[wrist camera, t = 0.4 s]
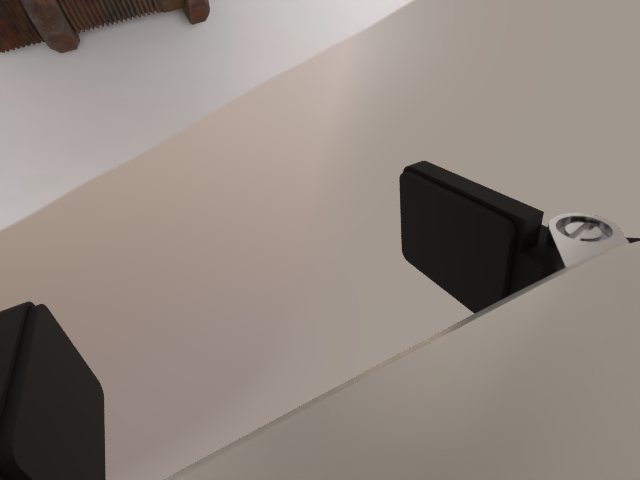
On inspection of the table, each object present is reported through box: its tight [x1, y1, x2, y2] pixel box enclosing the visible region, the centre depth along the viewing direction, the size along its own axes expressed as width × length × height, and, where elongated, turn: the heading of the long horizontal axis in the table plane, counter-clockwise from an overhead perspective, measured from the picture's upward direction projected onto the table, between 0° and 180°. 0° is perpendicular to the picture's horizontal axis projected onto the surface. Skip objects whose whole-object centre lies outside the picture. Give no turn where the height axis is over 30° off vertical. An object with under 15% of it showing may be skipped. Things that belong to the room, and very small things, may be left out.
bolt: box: [0, 0, 210, 53], centre depth 28 cm, size 6×5×15 cm
